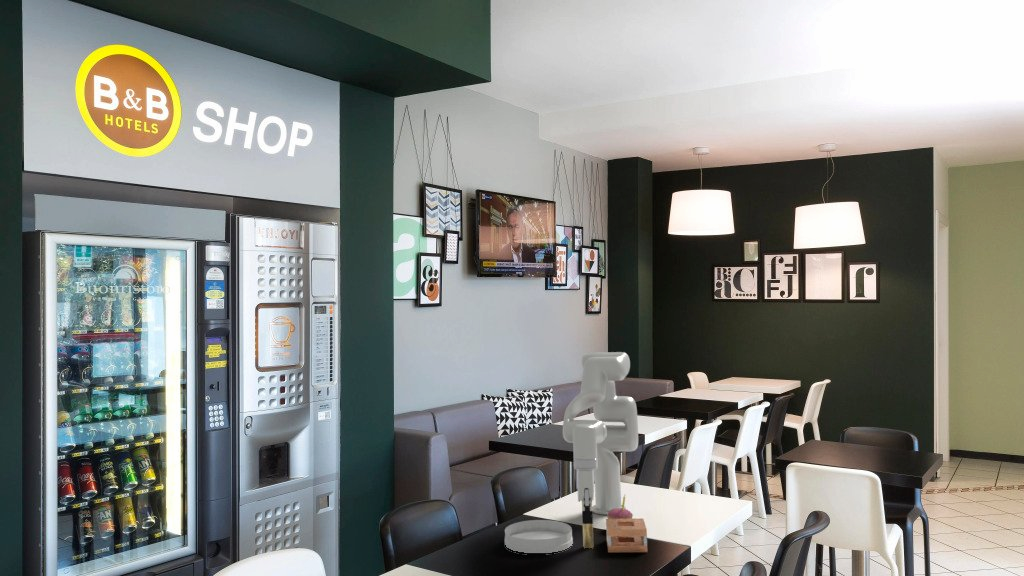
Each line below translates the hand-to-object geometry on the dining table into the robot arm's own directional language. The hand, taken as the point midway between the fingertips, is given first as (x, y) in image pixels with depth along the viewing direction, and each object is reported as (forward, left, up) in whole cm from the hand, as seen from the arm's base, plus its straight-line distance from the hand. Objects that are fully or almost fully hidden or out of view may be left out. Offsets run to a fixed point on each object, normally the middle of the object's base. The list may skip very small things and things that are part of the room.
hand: (587, 521), depth 242 cm
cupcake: (-19, +11, -8) cm, 24 cm away
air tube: (0, 0, -8) cm, 8 cm away
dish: (-4, -16, -9) cm, 19 cm away
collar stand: (-1, +12, -8) cm, 15 cm away
